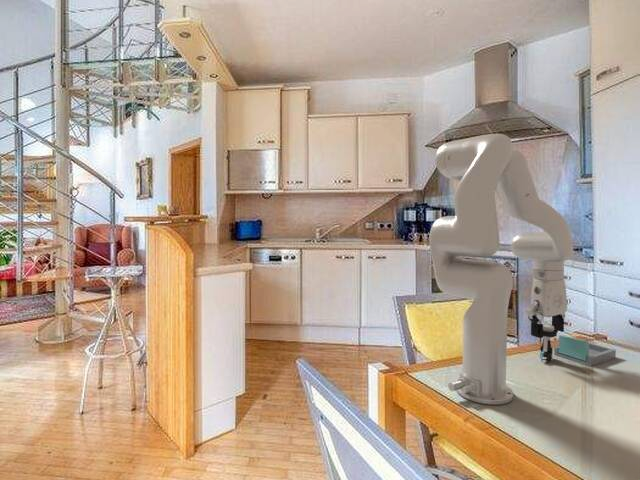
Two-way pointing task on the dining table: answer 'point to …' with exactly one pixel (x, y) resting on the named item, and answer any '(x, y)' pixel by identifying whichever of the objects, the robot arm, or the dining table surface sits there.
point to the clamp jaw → (573, 347)
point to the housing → (591, 355)
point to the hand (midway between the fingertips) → (547, 333)
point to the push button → (547, 342)
